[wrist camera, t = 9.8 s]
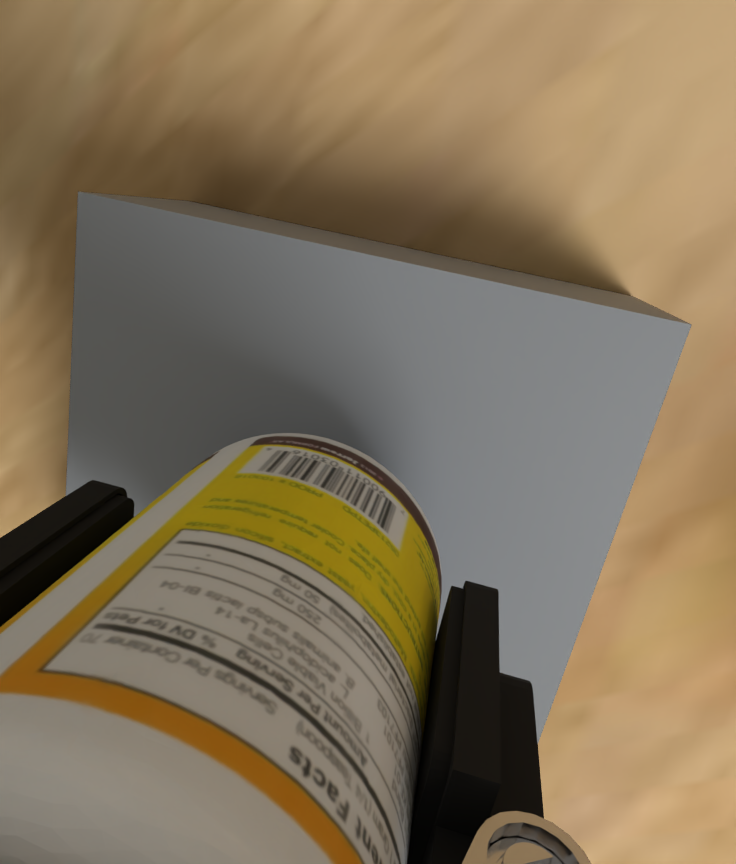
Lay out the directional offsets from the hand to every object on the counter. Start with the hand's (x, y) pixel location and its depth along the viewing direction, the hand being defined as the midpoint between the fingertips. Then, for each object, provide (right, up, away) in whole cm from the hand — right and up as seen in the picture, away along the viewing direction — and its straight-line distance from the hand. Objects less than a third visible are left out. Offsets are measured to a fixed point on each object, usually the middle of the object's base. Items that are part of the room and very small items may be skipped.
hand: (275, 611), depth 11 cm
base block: (+1, +2, +8) cm, 8 cm away
